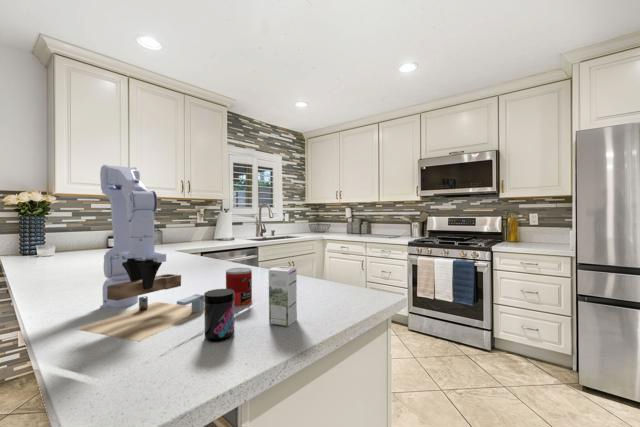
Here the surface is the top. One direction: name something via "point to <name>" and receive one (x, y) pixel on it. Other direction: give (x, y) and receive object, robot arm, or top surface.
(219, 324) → the supplement container
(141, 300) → the post
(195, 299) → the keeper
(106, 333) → the board
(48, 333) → the top surface
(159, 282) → the link
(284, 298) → the syrup box
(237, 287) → the canned food
